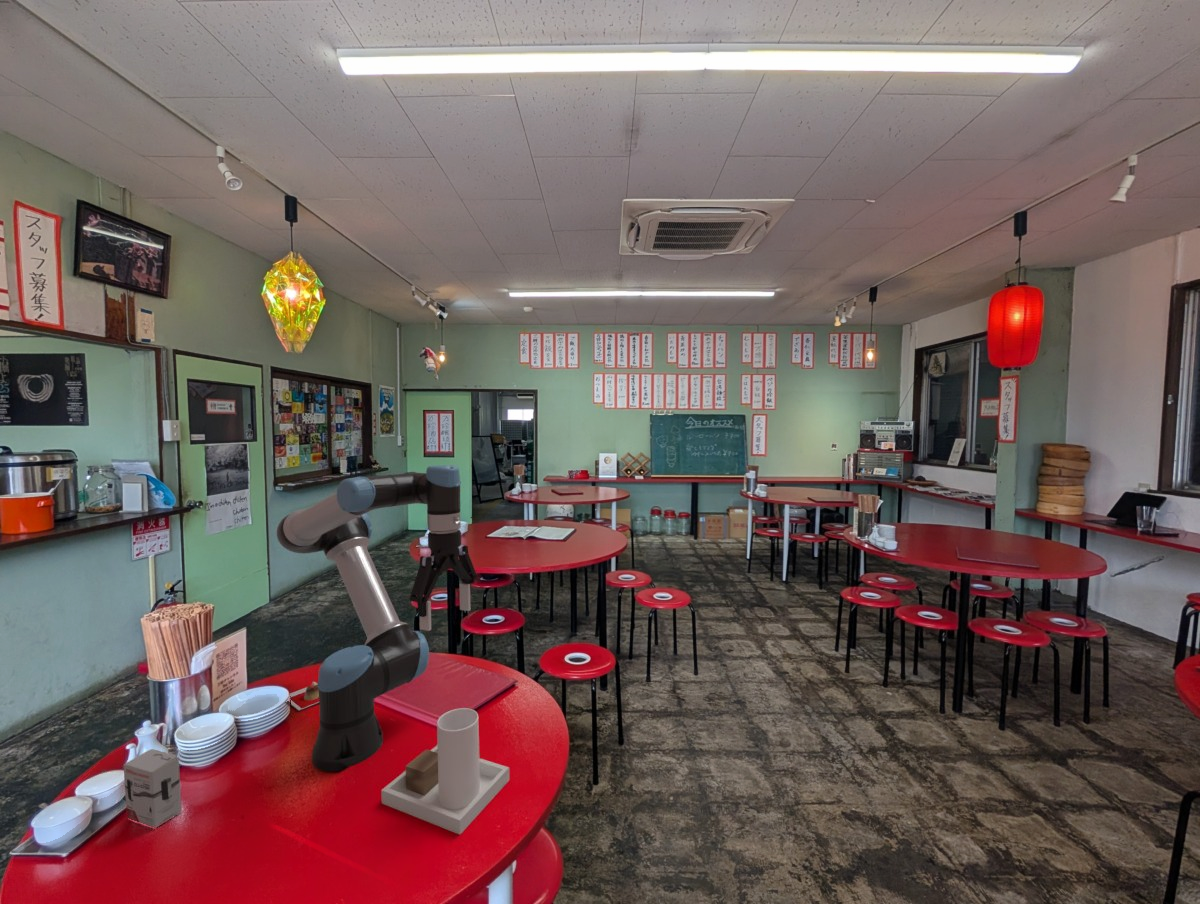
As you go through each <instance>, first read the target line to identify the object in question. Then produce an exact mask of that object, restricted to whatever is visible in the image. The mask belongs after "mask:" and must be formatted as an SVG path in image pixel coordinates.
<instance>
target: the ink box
mask: <svg viewBox="0 0 1200 904" xmlns="http://www.w3.org/2000/svg"><path fill="white" fill-rule="evenodd" d="M179 761H180V760H179V756H178V755H177V754H173V753H170V752H169V753H168V752H166V751H161V750H159V749H158V750H157V749H154V748H152V749H148V750H147V751H145V752H143V753H141V754H140V755H138V756H136V757H134V758H132V759H131V760H129V761H127V762H125V763H124V764H123V778H124V793H125V809H126V811H125V812H126V819H127V818H129V819H131V820H134V821H137V822H140V823H143V824H146V825H148V826H151V827H154V828H155V827H157V826H159V825H160V824H162V823H164V822H165V821H167V820H169V819H170V818H172V817H173V816H175V815H177V814H178V815H180V814H181V813H182V799H181V798H182V796H181V794H182V793H181V783H180V782H181V777H180V763H179ZM180 812H181V813H180ZM179 813H180V814H179ZM178 815H177V816H178ZM175 817H176V816H175ZM172 819H173V818H172ZM169 821H170V820H169Z"/></svg>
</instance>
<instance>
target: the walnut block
mask: <svg viewBox="0 0 1200 904" xmlns="http://www.w3.org/2000/svg"><path fill="white" fill-rule="evenodd" d="M405 771H406V789H407V790H410V791H413V792H415V793H418V794H421V795H423V796H425V795H426V794H427V793H428V792H429V791H430V790H431V789H432V788H434V787H435V786H436V785H437V784H438V753H436V752H433V751H430V749H425V750H424V751H422V752H421V753H420V754H419V755H417V756H416V757H415V758H414V759H413V760H411V761H410V762H409V763H407V764H406V765H405Z"/></svg>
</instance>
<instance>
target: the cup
mask: <svg viewBox="0 0 1200 904" xmlns="http://www.w3.org/2000/svg"><path fill="white" fill-rule="evenodd" d="M436 729H437V732H436V736H437V738H436V739H437V742H436V743H437V745H438V784H439V802H440V804H441V805H442V806H443V807H445V808H448V809H460V808H464V807H466V806H468V805H469V804H470V803H471V802H472V801H473V800H474V799H475V798H476V797H477V796H478V795H479V794H480V769H479V758H480V736H479V735H480V732H479V731H480V730H479V714H478V712H477V711H476V710H474V709H471V708H466V707H461V708H455V709H451V710H449V711H447V712H444V713H443V714H442V715H440V716H439V718H437V722H436Z"/></svg>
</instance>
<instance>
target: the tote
mask: <svg viewBox="0 0 1200 904" xmlns="http://www.w3.org/2000/svg"><path fill="white" fill-rule="evenodd" d="M429 750H430V749H429ZM430 751H433V752H436V753H438V744H436V746H434V747H433V748H431V750H430ZM479 769H480V794H479V795H478V796H477V797H476V798H475V799H474V800H473V801H472V802H471V803H470V804H469V805H468V806H466V807H464V808H460V809H448V808H445V807H443V806H442V805H441V804H440V802H439V784H437V785H436V786H435V787H434V788H432V789H431V790H430V791H429V792H428V793H427V794H426V795H425V796H423V795H421V794H418V793H415V792H413V791H410V790H407V789H406V770H404V771H403V772H402V773H401V774H399V776H396V778H394V780H392V781H391V782H390V783H388V784H387V785H386V786H384V788H382V789H381V804H383V805H384V806H387V807H389V808H392V809H395V810H398V811H400V812H402V813H405V814H407V815H410V816H412V817H414V818H417V819H420V820H422V821H425V822H428V823H429V824H432V825H435V826H437V827H440V828H443V829H445V830H447V831H450V832H452V833H455V834H456V835H457V834H458V835H461V834H462V833H464V831H465V830H466V829H467V828H468V827H469V825H470V824H472V822H473V821H474V820H475V819H476V818H477V816H478V815H479V814H481V813H482V811H483V810H484V809H485V808H486V806H488V805H489V803H490V802H491V801H492V800H493V799H494V798H495V796H496V795H498V793H499V792H500V791H502V789H503V788H504V787H505V786H506V785H507V784H508V782H509V781H510V767H509V766H506V765H502V764H500V763H495V762H493V761H489V760H486V759H484V758H480V757H479Z"/></svg>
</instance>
